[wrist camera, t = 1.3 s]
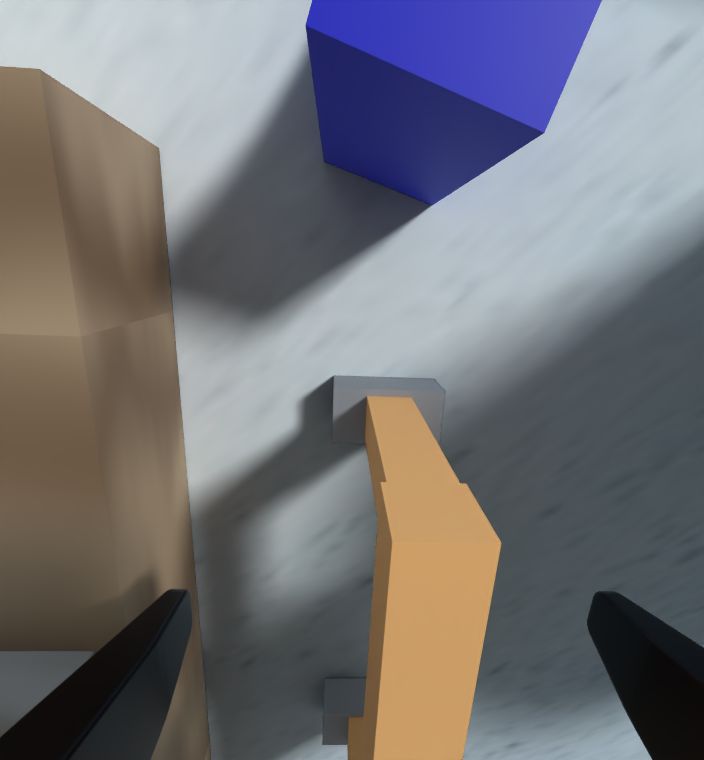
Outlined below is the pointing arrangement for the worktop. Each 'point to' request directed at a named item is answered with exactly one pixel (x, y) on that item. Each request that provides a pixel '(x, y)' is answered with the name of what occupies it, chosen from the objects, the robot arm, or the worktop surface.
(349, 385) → the orange staple arch
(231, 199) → the worktop surface
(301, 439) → the worktop surface
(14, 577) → the wooden picture frame
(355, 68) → the cable clip
